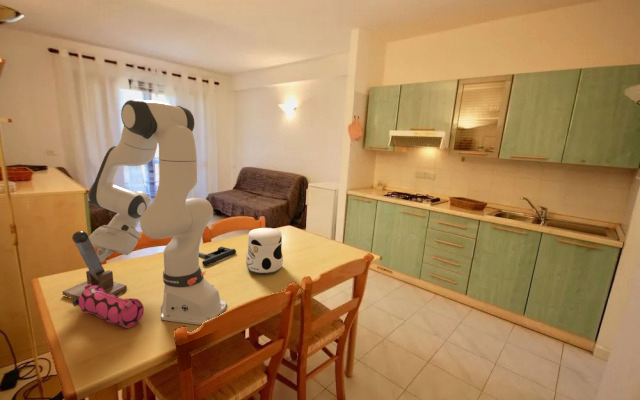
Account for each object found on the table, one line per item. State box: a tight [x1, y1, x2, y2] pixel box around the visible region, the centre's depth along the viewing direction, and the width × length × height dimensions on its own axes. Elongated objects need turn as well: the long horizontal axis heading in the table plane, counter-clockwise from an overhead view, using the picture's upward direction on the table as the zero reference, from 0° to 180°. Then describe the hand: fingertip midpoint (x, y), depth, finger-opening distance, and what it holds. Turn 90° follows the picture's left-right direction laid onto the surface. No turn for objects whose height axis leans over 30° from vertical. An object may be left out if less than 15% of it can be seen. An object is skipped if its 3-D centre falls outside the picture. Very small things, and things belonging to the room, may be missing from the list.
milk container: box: [245, 227, 284, 275], centre depth 136 cm, size 17×17×18 cm
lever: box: [71, 230, 105, 282], centre depth 105 cm, size 4×4×22 cm
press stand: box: [62, 269, 128, 300], centre depth 108 cm, size 16×12×8 cm
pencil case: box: [72, 284, 145, 329], centre depth 94 cm, size 21×10×10 cm, turn 71°
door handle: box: [199, 246, 237, 267], centre depth 147 cm, size 3×20×16 cm
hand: (98, 260), depth 108 cm, fingers closed, pressing on lever
